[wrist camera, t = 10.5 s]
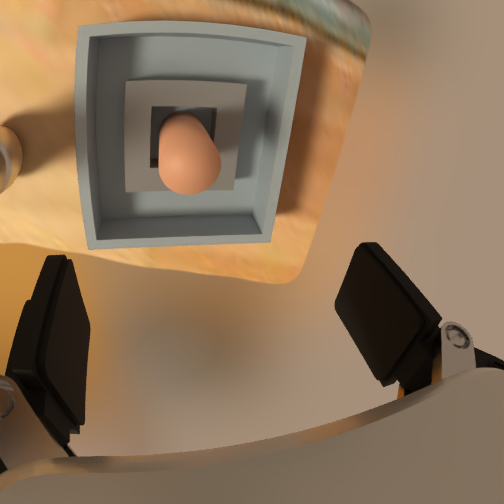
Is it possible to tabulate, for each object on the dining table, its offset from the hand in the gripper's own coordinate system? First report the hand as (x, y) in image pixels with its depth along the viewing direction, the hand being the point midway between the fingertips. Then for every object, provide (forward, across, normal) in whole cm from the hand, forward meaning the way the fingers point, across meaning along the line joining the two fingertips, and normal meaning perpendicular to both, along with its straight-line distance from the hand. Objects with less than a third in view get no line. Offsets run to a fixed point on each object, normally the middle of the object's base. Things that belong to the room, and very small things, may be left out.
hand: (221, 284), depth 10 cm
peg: (+22, 0, 0) cm, 22 cm away
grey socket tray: (+22, 0, 0) cm, 23 cm away
